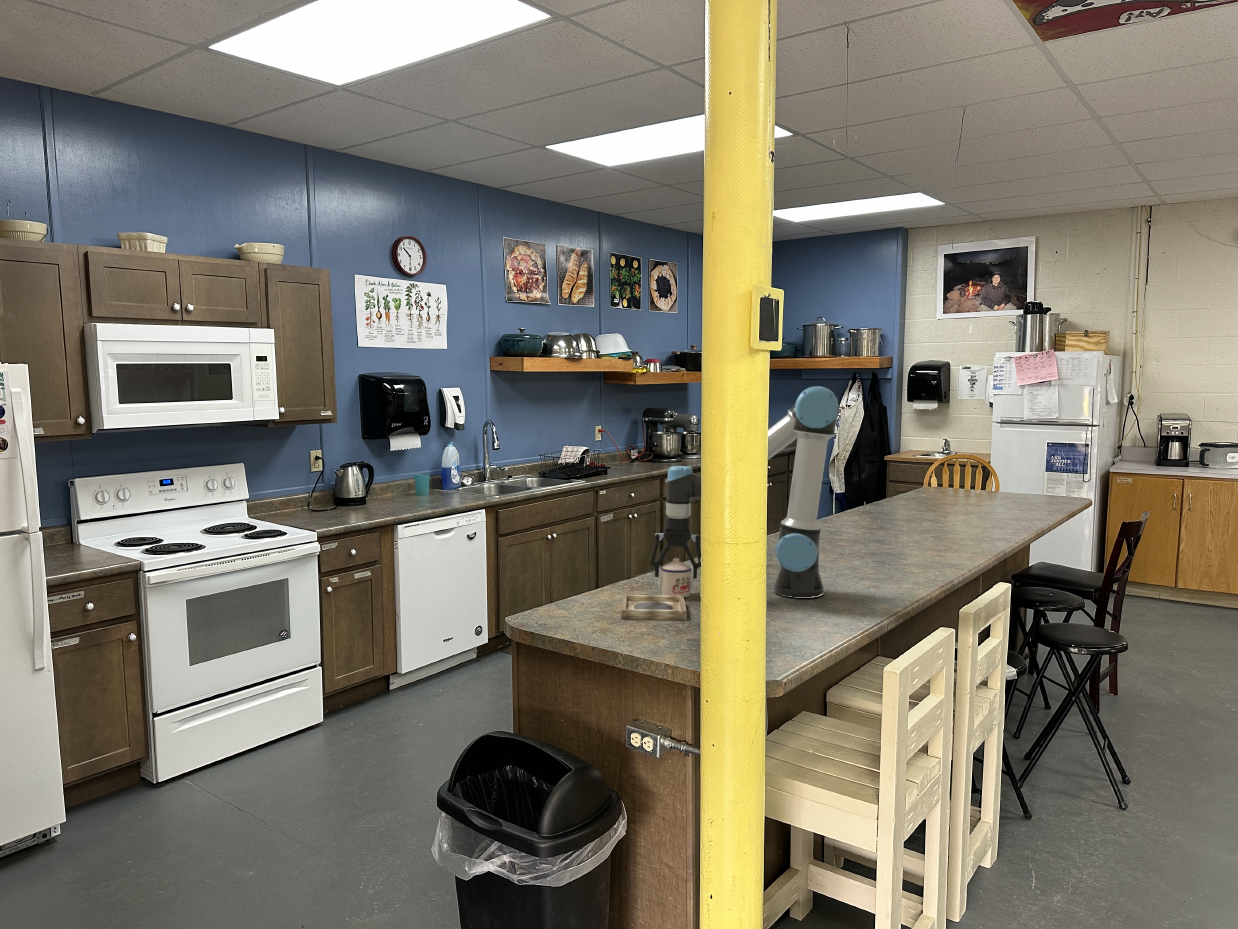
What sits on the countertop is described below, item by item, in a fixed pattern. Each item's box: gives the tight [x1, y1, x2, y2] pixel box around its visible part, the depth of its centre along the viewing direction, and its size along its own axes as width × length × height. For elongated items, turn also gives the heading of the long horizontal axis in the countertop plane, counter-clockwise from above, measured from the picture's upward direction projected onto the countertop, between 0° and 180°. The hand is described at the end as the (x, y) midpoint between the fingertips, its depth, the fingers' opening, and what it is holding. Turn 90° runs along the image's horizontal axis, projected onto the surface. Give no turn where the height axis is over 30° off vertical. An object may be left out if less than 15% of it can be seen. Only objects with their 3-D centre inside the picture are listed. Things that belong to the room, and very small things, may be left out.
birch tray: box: [620, 594, 688, 621], centre depth 236 cm, size 18×17×2 cm
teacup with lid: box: [661, 557, 695, 598], centre depth 255 cm, size 12×9×12 cm
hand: (675, 588), depth 255 cm, fingers open, 9 cm apart
